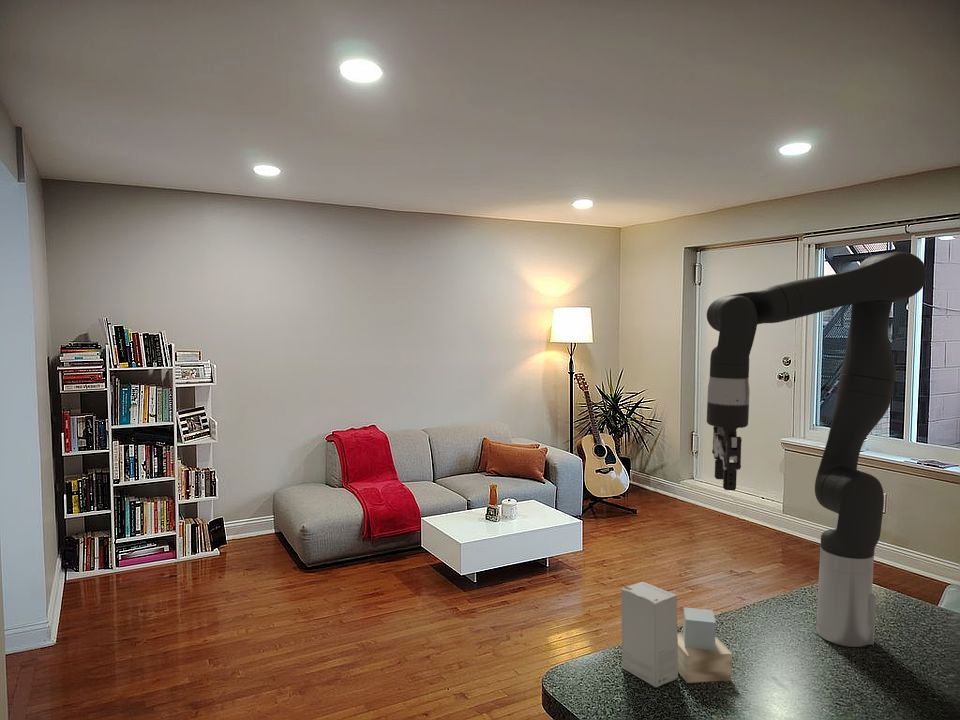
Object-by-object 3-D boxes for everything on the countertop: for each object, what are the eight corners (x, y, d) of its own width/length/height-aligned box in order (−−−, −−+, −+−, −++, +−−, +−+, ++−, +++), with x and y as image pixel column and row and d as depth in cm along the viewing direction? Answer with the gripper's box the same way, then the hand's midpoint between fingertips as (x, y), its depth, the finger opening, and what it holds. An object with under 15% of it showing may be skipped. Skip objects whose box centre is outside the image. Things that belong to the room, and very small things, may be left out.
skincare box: (678, 679, 116) (681, 595, 115) (654, 690, 113) (657, 603, 112) (641, 658, 123) (644, 579, 122) (618, 667, 120) (620, 586, 119)
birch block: (709, 657, 124) (710, 631, 124) (731, 681, 116) (732, 653, 116) (668, 660, 123) (668, 633, 123) (686, 684, 115) (687, 655, 115)
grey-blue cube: (711, 637, 122) (712, 610, 121) (714, 650, 117) (715, 622, 116) (682, 633, 123) (683, 607, 122) (684, 647, 118) (685, 619, 117)
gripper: (757, 406, 121) (754, 495, 123) (740, 396, 136) (737, 476, 137) (714, 405, 123) (711, 492, 124) (701, 395, 137) (698, 474, 138)
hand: (724, 484), depth 130 cm, fingers open, 8 cm apart
